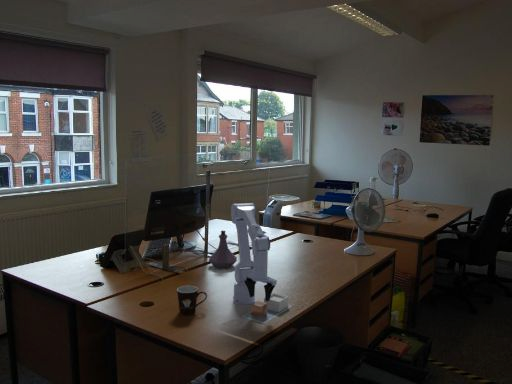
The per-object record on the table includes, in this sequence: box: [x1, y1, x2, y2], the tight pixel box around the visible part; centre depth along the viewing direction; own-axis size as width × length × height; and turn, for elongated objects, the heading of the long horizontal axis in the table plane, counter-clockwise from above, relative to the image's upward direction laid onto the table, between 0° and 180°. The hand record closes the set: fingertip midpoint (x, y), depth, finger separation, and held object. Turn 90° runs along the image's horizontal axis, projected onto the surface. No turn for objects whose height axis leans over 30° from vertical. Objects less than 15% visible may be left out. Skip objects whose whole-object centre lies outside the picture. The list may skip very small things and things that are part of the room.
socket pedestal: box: [263, 292, 289, 312], centre depth 197 cm, size 8×8×4 cm
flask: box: [208, 230, 238, 270], centre depth 254 cm, size 16×16×20 cm
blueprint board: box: [241, 304, 293, 325], centre depth 193 cm, size 22×11×1 cm, turn 146°
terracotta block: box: [251, 300, 267, 319], centre depth 188 cm, size 4×4×5 cm
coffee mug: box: [176, 285, 208, 316], centre depth 191 cm, size 12×9×10 cm
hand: (259, 298), depth 188 cm, fingers open, 7 cm apart
